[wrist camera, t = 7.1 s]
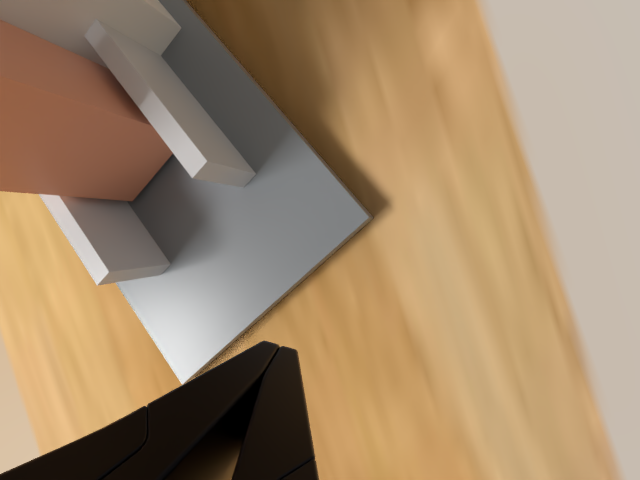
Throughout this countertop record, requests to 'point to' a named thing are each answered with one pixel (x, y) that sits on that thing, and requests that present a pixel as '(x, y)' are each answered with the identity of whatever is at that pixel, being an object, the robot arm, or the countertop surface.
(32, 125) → the plug
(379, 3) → the countertop surface
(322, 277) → the countertop surface
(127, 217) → the test rig
